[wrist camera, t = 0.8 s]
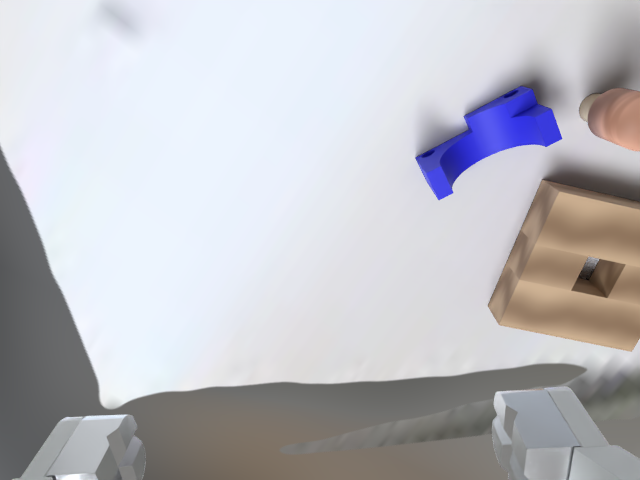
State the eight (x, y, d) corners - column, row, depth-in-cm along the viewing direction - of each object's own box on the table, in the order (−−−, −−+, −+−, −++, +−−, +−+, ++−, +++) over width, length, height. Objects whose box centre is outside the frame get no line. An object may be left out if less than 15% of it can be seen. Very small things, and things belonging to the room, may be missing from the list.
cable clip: (520, 85, 47) (546, 93, 41) (535, 126, 48) (562, 138, 43) (408, 144, 49) (419, 159, 44) (426, 181, 51) (438, 200, 45)
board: (542, 179, 50) (559, 191, 47) (681, 211, 51) (708, 225, 48) (487, 305, 57) (498, 325, 53) (612, 331, 58) (631, 351, 54)
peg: (582, 78, 46) (634, 89, 38) (626, 89, 46) (686, 102, 39) (562, 125, 48) (607, 144, 40) (604, 135, 48) (657, 156, 40)
